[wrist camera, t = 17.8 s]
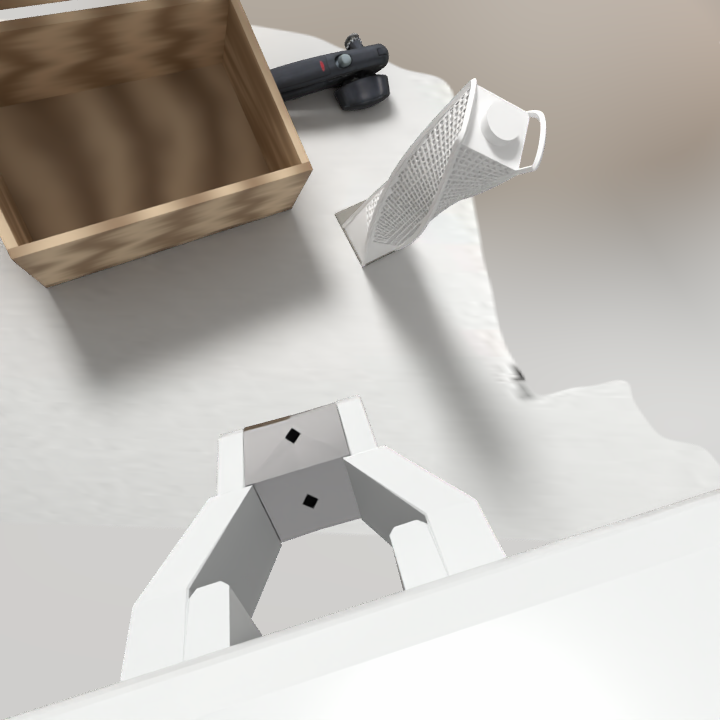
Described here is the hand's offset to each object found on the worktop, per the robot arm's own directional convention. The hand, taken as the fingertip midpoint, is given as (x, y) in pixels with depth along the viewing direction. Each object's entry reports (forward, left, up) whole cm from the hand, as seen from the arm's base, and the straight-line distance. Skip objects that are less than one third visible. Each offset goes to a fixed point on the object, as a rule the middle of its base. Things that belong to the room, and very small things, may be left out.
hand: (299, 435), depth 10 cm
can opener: (+26, +29, -43) cm, 58 cm away
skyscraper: (+25, +11, -43) cm, 51 cm away
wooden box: (+4, +26, -43) cm, 50 cm away
